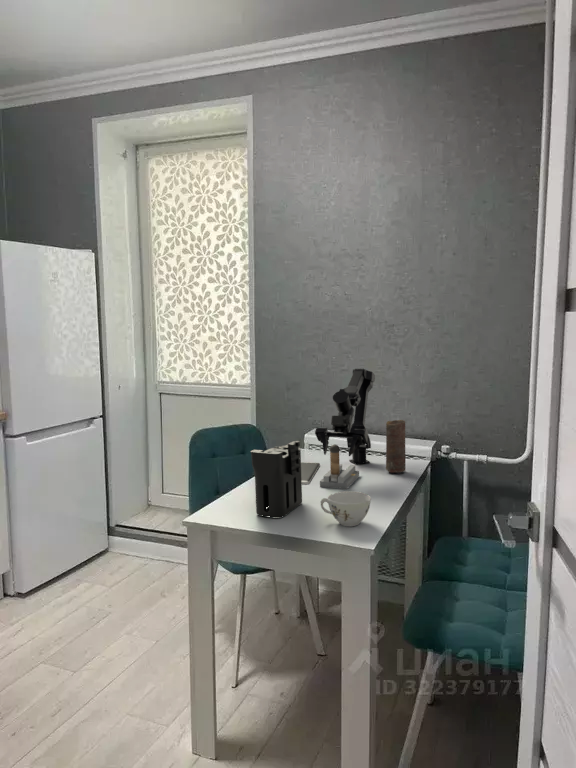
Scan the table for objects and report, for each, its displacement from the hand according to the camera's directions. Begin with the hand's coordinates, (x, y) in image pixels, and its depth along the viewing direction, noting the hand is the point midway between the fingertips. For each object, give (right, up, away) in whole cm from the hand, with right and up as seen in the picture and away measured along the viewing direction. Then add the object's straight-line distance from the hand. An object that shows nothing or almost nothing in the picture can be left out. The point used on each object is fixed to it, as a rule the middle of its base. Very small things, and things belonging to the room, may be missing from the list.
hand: (336, 454), depth 208 cm
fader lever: (-1, -9, -1) cm, 9 cm away
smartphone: (-14, -10, +16) cm, 24 cm away
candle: (+24, -9, +14) cm, 29 cm away
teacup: (-1, -15, -38) cm, 41 cm away
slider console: (+2, -10, +4) cm, 11 cm away
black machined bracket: (-19, -14, -24) cm, 34 cm away
